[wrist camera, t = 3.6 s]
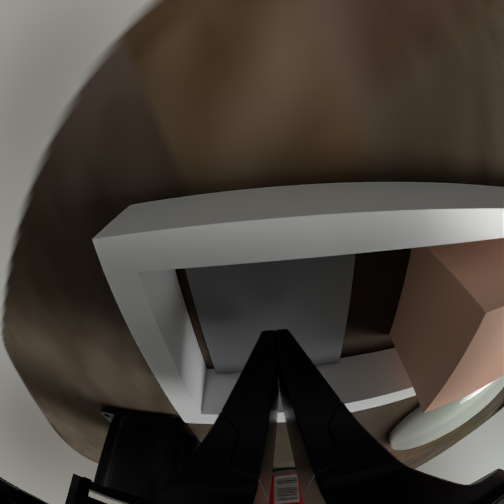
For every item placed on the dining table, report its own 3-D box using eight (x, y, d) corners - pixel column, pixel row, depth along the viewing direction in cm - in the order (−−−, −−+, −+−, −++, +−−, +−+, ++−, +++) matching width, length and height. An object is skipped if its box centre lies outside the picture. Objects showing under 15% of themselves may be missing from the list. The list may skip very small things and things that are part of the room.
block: (388, 333, 11) (423, 413, 7) (412, 234, 9) (485, 312, 5) (464, 314, 11) (504, 374, 7) (492, 228, 8) (556, 283, 4)
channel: (192, 380, 12) (184, 422, 10) (130, 204, 8) (91, 239, 6) (515, 317, 11) (532, 339, 9) (555, 193, 7) (582, 211, 5)
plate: (372, 453, 20) (374, 461, 19) (422, 388, 14) (426, 399, 13) (469, 415, 20) (471, 421, 19) (528, 338, 13) (533, 345, 12)
